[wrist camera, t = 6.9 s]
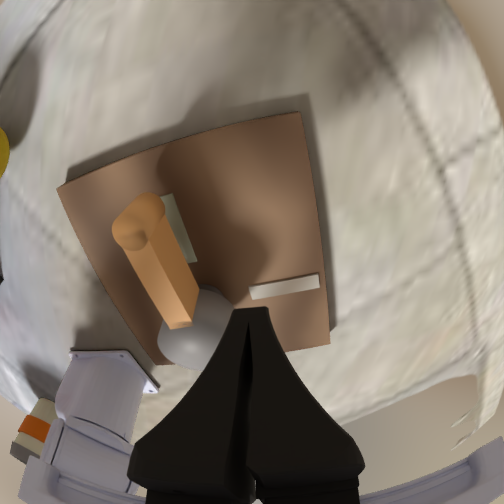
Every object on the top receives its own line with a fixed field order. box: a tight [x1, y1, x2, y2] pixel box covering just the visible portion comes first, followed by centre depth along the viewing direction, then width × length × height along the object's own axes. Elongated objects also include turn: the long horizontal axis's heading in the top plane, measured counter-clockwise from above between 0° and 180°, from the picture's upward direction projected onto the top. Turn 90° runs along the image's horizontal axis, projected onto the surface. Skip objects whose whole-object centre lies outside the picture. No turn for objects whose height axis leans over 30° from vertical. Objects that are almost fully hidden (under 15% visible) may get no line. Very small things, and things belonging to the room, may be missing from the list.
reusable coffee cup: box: [10, 398, 58, 465], centre depth 34 cm, size 13×13×15 cm
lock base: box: [56, 111, 330, 365], centre depth 20 cm, size 17×19×3 cm
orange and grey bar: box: [112, 192, 235, 371], centre depth 17 cm, size 12×5×3 cm, turn 16°
